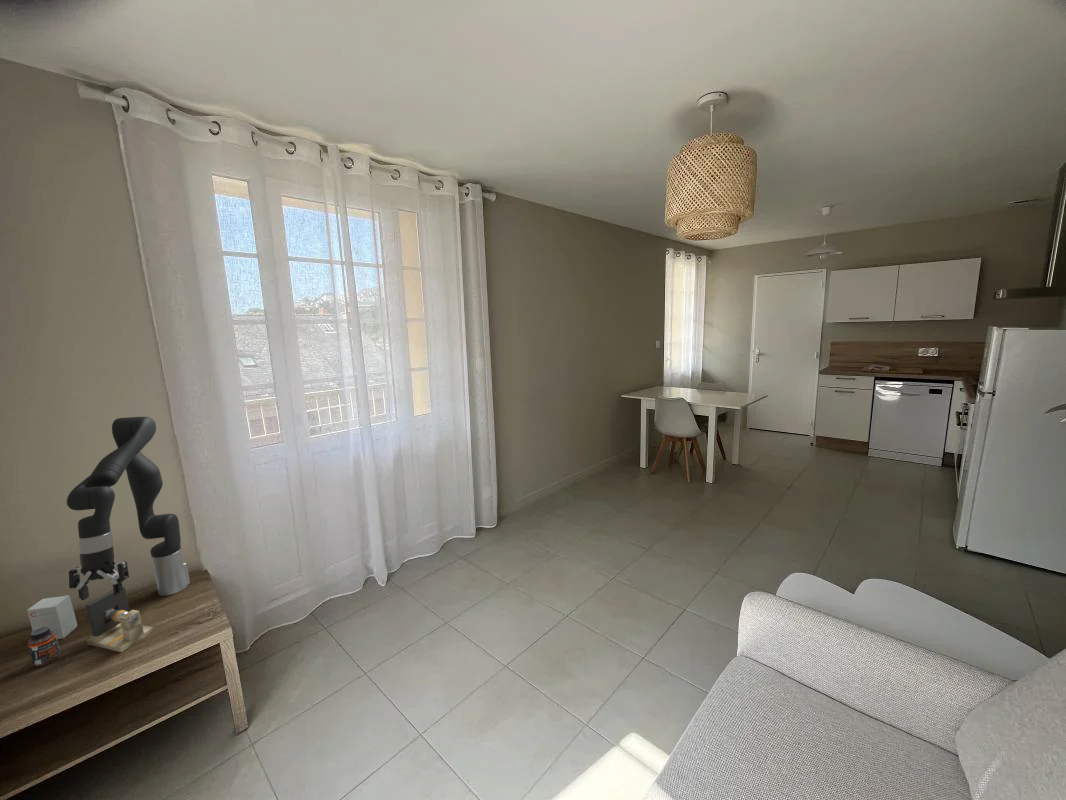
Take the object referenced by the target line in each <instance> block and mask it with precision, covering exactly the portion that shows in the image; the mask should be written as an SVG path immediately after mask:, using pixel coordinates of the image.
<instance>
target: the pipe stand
mask: <svg viewBox="0 0 1066 800" xmlns="http://www.w3.org/2000/svg"><path fill="white" fill-rule="evenodd" d="M103 615H104V620H105V621H106V620H107V619H111V620H114V621H116V622H120V624H118V625H116V626H115V627H113V628H111V629H110V630H108V631H106V632H105V633H103V634H101V635H100V636H98V637H95V636H93V635H92V636H91V637H89V638H87V639H86V640H85V642H86V645H90V646H94V647H96V648H101V649H106V650H111V651H114V652H119V653H122V652H124V651H125V650H127V649H129V648H130V647H131V646H133V645H135V644H136V643H138V642H140V641H141V640H142V639H144V638H145V637H147V636H148V635H150V634H151V633H154V631H155V629H154V627H153V626H148V625H146V624H145V625H144V624H143V623H142V619H141V618H142V617H141V613H140V610H137V609H136V610H135V609H132V610H130V612H127V611H125V610H115V608H111V609H109V610H107V611H106V612H104V613H103Z"/></svg>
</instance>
